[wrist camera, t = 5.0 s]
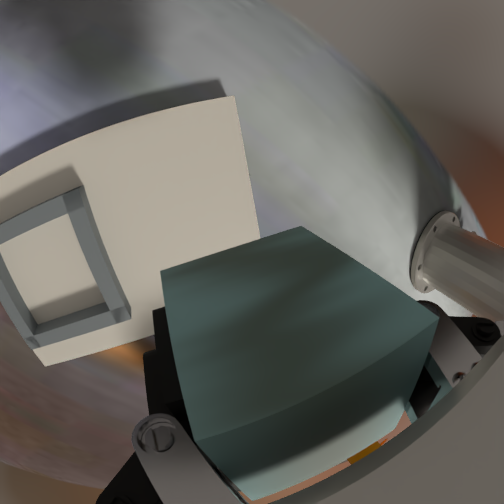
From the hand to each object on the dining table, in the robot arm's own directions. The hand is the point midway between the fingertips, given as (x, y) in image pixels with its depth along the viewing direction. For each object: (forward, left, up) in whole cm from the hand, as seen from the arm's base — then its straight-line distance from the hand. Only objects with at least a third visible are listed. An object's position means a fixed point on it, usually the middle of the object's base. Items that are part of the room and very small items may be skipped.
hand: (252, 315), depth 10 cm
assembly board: (+6, 0, -13) cm, 14 cm away
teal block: (0, 0, -1) cm, 1 cm away
